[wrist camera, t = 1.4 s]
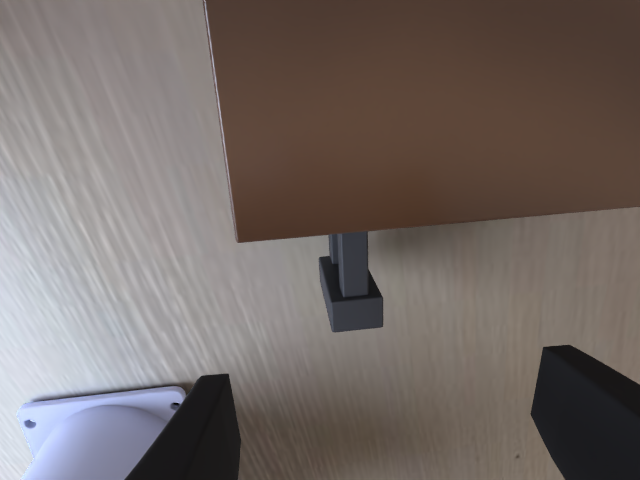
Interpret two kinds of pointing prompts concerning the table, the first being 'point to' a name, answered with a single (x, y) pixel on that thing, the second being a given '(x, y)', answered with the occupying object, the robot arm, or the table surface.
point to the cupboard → (423, 111)
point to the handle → (350, 284)
